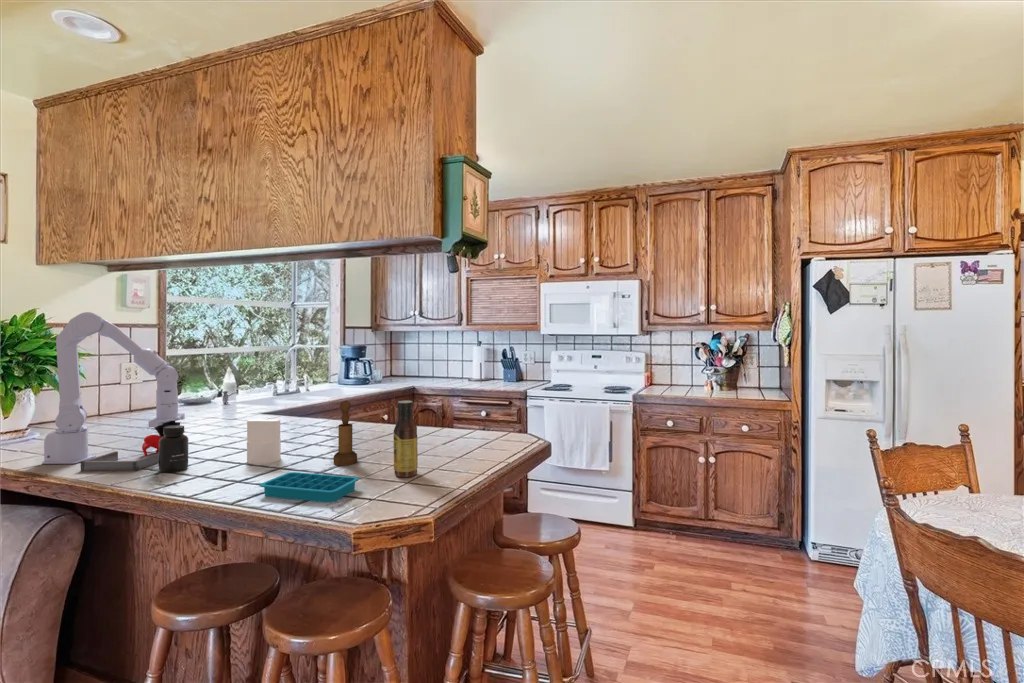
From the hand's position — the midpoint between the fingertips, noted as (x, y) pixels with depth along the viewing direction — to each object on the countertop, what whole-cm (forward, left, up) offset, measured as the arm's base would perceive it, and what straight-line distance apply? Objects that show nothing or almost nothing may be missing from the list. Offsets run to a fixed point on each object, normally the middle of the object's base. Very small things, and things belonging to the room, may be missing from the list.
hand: (167, 445), depth 161 cm
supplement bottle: (+17, -23, -2) cm, 29 cm away
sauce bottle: (+82, -29, -2) cm, 87 cm away
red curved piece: (0, -5, -2) cm, 6 cm away
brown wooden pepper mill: (+62, -16, -2) cm, 64 cm away
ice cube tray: (+62, -43, -2) cm, 76 cm away
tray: (0, -18, -1) cm, 18 cm away
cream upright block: (+37, -13, -2) cm, 39 cm away
